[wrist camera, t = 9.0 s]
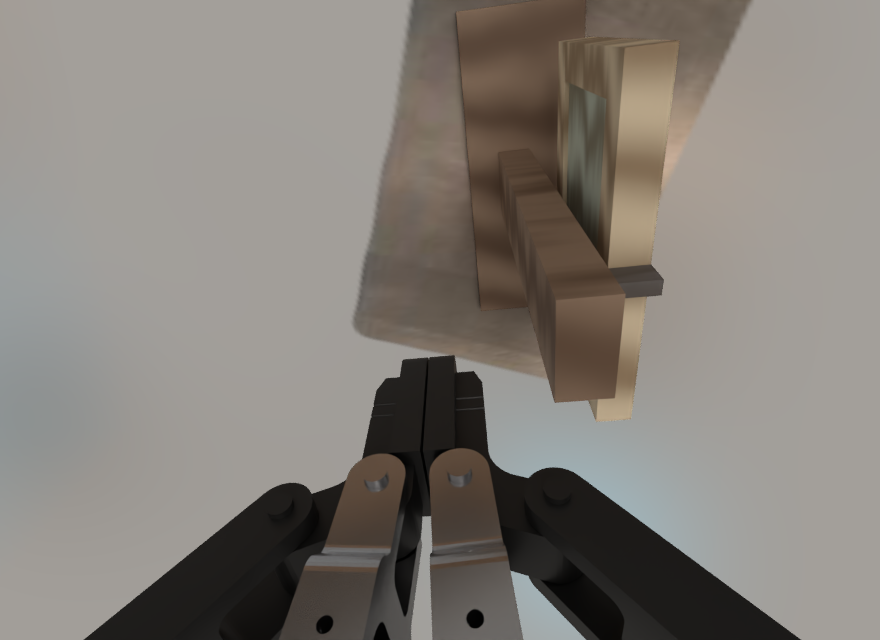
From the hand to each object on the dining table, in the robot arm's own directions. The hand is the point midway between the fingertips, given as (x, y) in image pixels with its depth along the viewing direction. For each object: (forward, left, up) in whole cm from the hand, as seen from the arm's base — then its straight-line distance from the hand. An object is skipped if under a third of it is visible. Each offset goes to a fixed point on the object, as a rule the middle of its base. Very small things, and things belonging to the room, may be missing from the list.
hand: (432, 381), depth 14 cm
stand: (+5, +8, -39) cm, 40 cm away
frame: (+5, +11, -31) cm, 33 cm away
